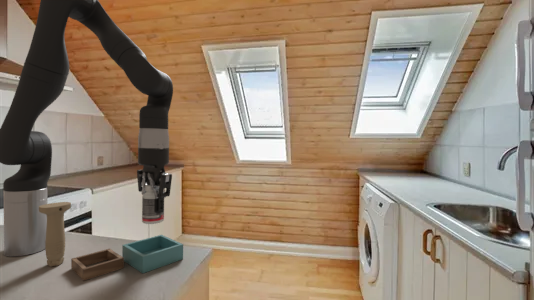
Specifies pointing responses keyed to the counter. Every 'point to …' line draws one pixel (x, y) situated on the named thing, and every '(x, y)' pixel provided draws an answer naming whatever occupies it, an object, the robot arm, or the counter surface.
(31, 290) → the counter surface
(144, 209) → the pill bottle
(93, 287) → the counter surface
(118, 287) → the counter surface
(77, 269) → the brown open box
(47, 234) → the handle
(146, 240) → the tray
